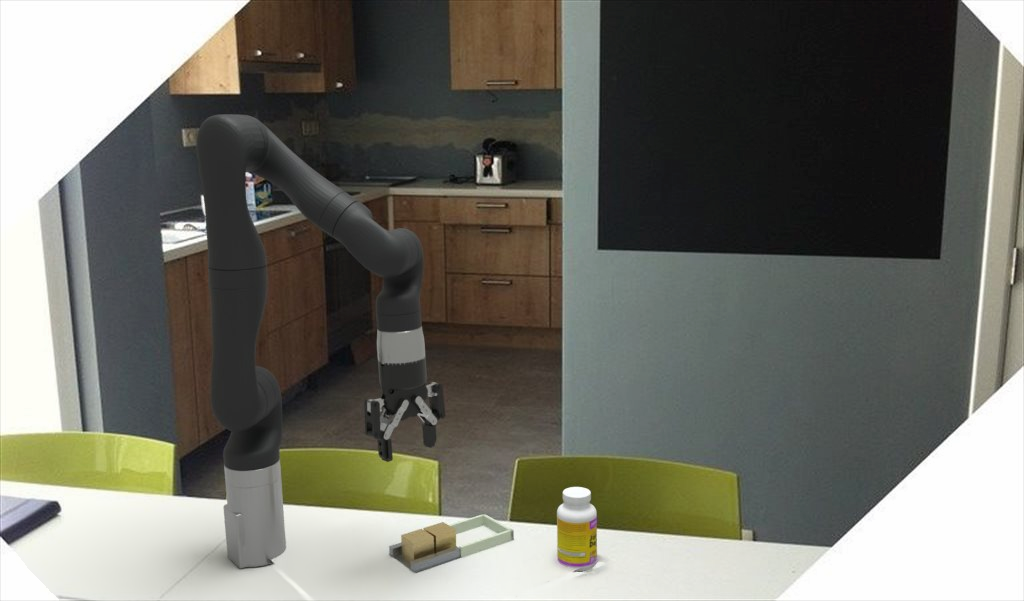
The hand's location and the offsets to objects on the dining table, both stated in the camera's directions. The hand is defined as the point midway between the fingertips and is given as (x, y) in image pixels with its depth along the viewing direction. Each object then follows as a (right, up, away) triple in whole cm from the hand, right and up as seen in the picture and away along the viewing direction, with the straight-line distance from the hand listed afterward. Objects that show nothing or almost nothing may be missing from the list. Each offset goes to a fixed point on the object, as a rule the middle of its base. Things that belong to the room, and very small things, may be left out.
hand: (408, 453), depth 153 cm
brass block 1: (+1, -19, +8) cm, 20 cm away
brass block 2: (+4, -18, +10) cm, 21 cm away
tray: (+10, -18, +14) cm, 25 cm away
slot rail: (+2, -20, +9) cm, 22 cm away
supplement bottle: (+28, -20, +6) cm, 35 cm away
